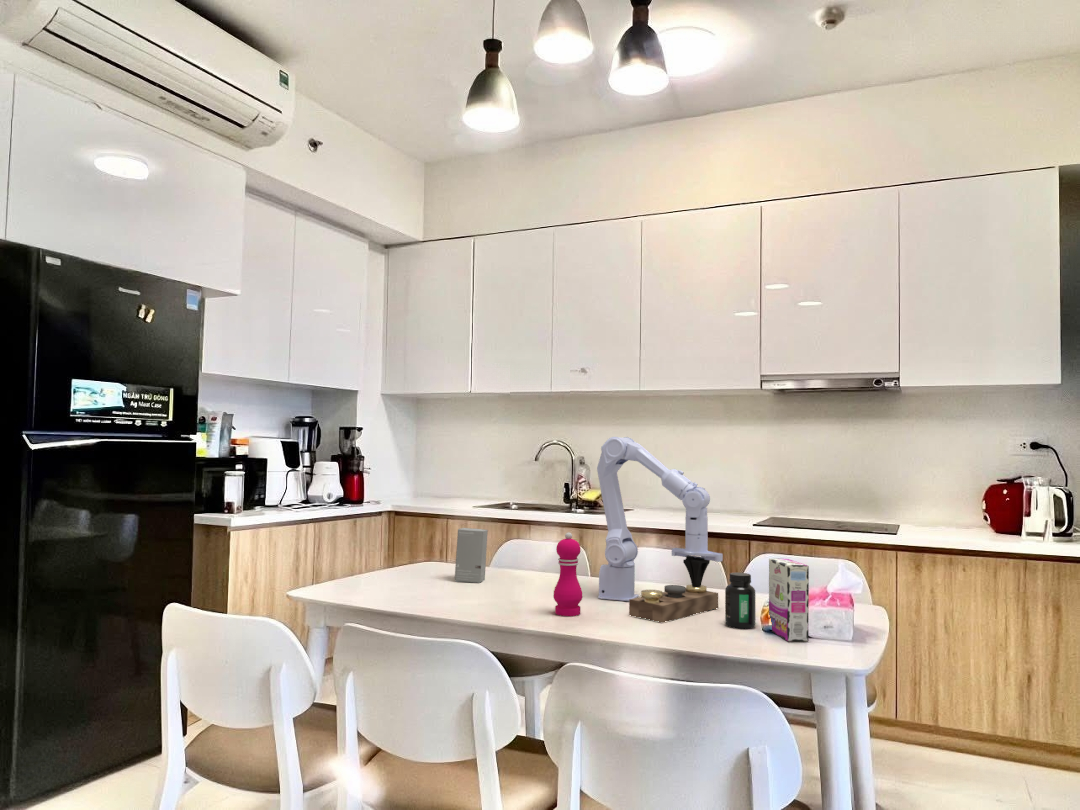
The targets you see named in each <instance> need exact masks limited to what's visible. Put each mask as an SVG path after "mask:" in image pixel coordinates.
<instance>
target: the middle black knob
mask: <svg viewBox="0 0 1080 810" xmlns="http://www.w3.org/2000/svg"><path fill="white" fill-rule="evenodd" d="M685 587H686V586H684V585H679V584H666V585H664V587H663V588H664V589H663V590H664V591H663V592H667V593H668V597H672V598H681V597H682V593H685Z"/></svg>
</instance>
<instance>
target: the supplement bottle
mask: <svg viewBox="0 0 1080 810" xmlns="http://www.w3.org/2000/svg"><path fill="white" fill-rule="evenodd" d="M728 580H729V582H730V583H729V584H728V585H726V587H725V589H724V591H725V592H724V593H725V594H724V599H725V600H724V603H725V604H724V605H725V607H724V610H725V612H724V616H725V617H724V620H725V622H724V623H725V625H726V626H727V627H728V628H732V629H737V630H750V629H754V628H755V627H756V617H757V616H756V610H757V609H756V589H755V587H754V586H753V585H751V583H752V575H751V574H750V573H748V572H747V573H746V572H730V573H729V579H728Z"/></svg>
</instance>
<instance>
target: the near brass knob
mask: <svg viewBox="0 0 1080 810" xmlns="http://www.w3.org/2000/svg"><path fill="white" fill-rule="evenodd" d="M663 592H664V591H662V590H659V589H643V590H641V591H640V597H643V598H644V602H647V603H652V604H655V603H659V598H662V597H663Z"/></svg>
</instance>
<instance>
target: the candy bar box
mask: <svg viewBox="0 0 1080 810" xmlns="http://www.w3.org/2000/svg"><path fill="white" fill-rule="evenodd" d="M768 568H769V569H768V616H769V615H770V618H771V622H772V631H771V632H772V633H774V634H775V635H776V636H778V637H779V638H782V639H783V640H785V641H786V642H789V643H790V642H791V643H794V642H795V643H797V642H799V643H800V642H801V643H802V642H803V643H804V642H809V641H810V639H809V634H810V633H809V631H810V630H809V620H810V619H809V614H810V613H809V612H810V611H809V605H810V604H809V592H810V590H809V589H810V588H809V587H810V585H809V583H810V579H809V578H810V577H809V574H810V573H809V572H810V567H809V565H807V564H804V563H801V562H798V561H796V560H793V559H790V558H781V557H780V558H769V559H768Z"/></svg>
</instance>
